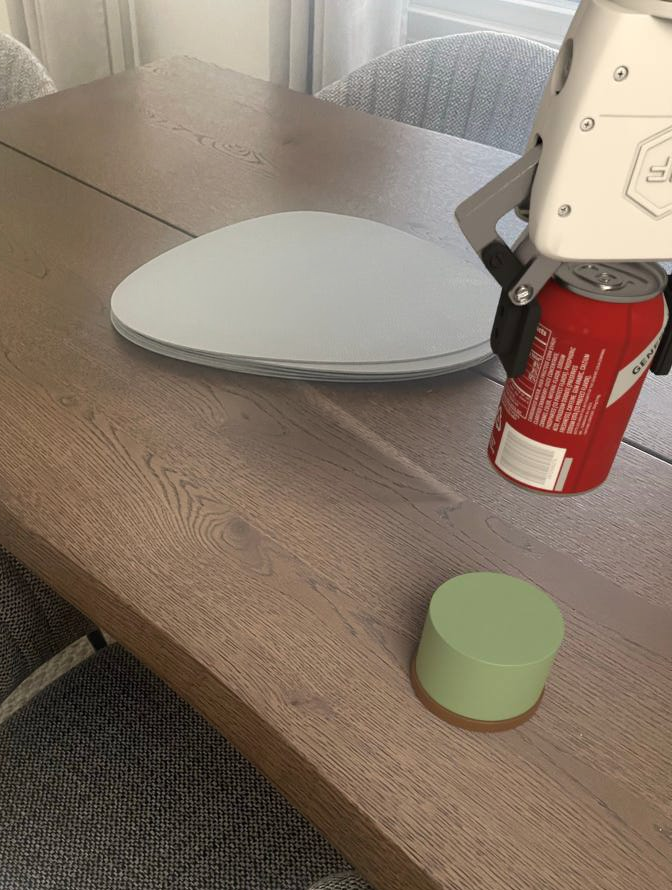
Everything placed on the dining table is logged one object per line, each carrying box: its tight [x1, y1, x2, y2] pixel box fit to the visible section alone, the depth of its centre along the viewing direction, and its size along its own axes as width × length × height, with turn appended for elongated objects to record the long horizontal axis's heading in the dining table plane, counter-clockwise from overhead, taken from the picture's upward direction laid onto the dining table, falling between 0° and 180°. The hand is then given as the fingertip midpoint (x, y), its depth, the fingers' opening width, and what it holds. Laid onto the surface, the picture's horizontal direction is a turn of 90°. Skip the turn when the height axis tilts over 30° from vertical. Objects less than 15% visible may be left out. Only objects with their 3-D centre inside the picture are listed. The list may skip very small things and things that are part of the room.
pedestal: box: [409, 571, 566, 733], centre depth 65 cm, size 9×9×6 cm
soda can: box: [486, 262, 669, 498], centre depth 51 cm, size 7×7×12 cm
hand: (579, 360), depth 51 cm, fingers closed on soda can, 6 cm apart
